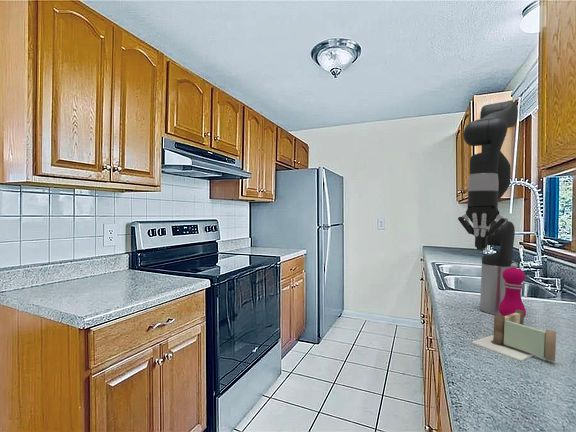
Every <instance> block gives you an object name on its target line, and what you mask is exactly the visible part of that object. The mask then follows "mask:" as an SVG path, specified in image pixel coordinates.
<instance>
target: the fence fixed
mask: <svg viewBox="0 0 576 432" xmlns="http://www.w3.org/2000/svg"><path fill="white" fill-rule="evenodd" d="M493 315H494V316H493V317H494V318H493V335H494V336H493V342H494V343H495V344H499V345H504V325H505V321H511V322H514V323H518V324H521V325H523V324H524V321H525V317H524V311H522V310H516V312H515V313H513V314H510V315H506V316H502V315H496V314H493ZM524 325H525V324H524Z"/></svg>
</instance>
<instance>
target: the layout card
mask: <svg viewBox="0 0 576 432" xmlns="http://www.w3.org/2000/svg"><path fill="white" fill-rule="evenodd" d="M493 336H494V334H491V335H488V336H486V337H485V336H484V337H482V338H480V339H479V338H478V339H476V340H473V341H471V344H473V345H475V346H478V347H480V348H484V349H486V350H489V351H492V352H495V353H498V354H500V355H503V356H506V357H508V358H511V359H514V360H517V361H519V362H523V361H525V360H527V359H529V358H531V357H533V356H535V355H534V354H531V353H528V352H525V351H522V350H520V349H517V348H514V347H511V346H508V345H505V344H504V345H499V344H495V343H494V342H493Z"/></svg>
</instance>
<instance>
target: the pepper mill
mask: <svg viewBox="0 0 576 432" xmlns="http://www.w3.org/2000/svg"><path fill="white" fill-rule="evenodd" d="M502 276H503V279H504V280H505V282H504V287H505V296H504V298H503V300H502V302H501V303H500V306H499V312H500V314H501V315H502V316H506V315H510V314H513V313H515V312H516V310H522V311H524V318H526V316H527V313H526V312H527V311H526V310H527V309H526V307H525V305H524V303H523V300H522V295H521V292H522V289H523V286H524V285H523V282H525V280H526V274H525V272H524V271H523V270H522V269H520V268H518V264H517V263H516V262H512V264H511V268H507V269H505V270H504V271H503V275H502ZM523 325H525V324H523Z"/></svg>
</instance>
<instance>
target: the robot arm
mask: <svg viewBox="0 0 576 432" xmlns="http://www.w3.org/2000/svg"><path fill="white" fill-rule="evenodd" d="M518 113H519V111H518V105H517V103H516V102H515V101H510V100H509V101H501V102H494V103H489V104H484V105H483V106H482V107H481V109H480V115H479V117H480V118H479V119H476V120H473V121H471V122H469V123H468V124H467V125H466V126H465V128H464V130H463V140H464V143H466V145H468V146H471V147H478V146H479V147H481V148H480V149H481V152H478V153H475V154H473V155H471V156H470V158H469V159H470V160H469V177H468V183H467V207H466V211H465V214H464V215H462V216H459V217H457V220H458V221H459V223H460V224H461V226H462V227H463V228H464V230H465V231H466V233H468V235H472V236H474V247H475V248H476V250H479V251H485V249H487V248H488V246H493V247H494V246H495V247H499V250H498V251H496V252H494V253H493V252H492V253H490V254H486V255H483V256H482V258H481V274H480V296H479V298H480V299H479V301H480V302H479V310H480V311H482V312H484V313H487V314H491V315H501V314H500V312H499V306H500V303H501V302H502V300H503V298H504V296H505V287H504V282H505V280H504V279H503V276H502V275H503V271H504V270H505V269H507V268H511V264H512V263H513V256H514V255H513V254H514V243H515V235H516V234H515V229H516V228H515V226H514V223H513V222H512V221H510V220H508V218H507V217H503V216H502V215H501V214H500V210H499V208H498V207H499V205H498V204H499V200H501V199H502V198H503V195H504V194H505V193H506V191H508V189H509V187H510V185H511V179H512V178H511V172H512V171H511V169H512V168H511V163H510V162H509V160H508V159H507V157H506V156H505V155H504V154H503V152H502V151H501V150H502V146H503V144H504V141H505V139H506V136H507V133H508V129H509V128H512V127H515V125H516V124H517V122H518V118H519V114H518ZM469 220H470V222H471V223H470V222H469Z"/></svg>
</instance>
